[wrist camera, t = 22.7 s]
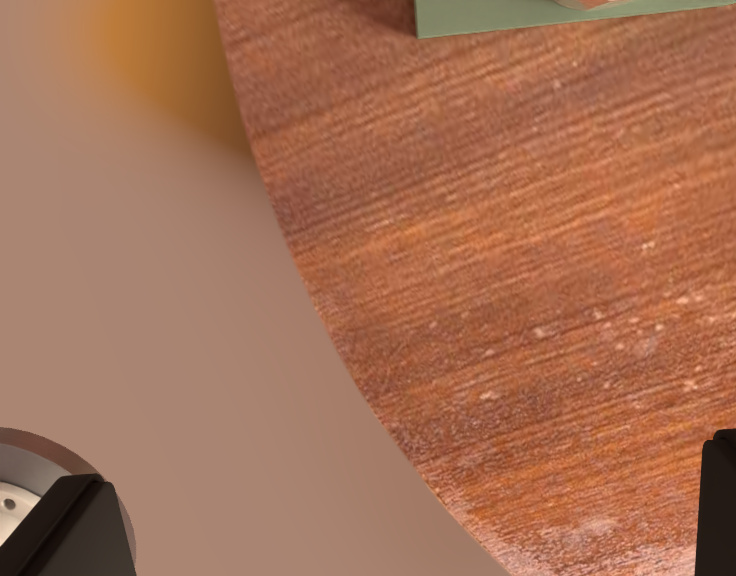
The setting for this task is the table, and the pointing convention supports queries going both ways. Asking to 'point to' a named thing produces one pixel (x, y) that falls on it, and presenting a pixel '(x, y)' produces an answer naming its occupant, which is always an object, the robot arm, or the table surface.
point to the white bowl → (591, 4)
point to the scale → (528, 14)
